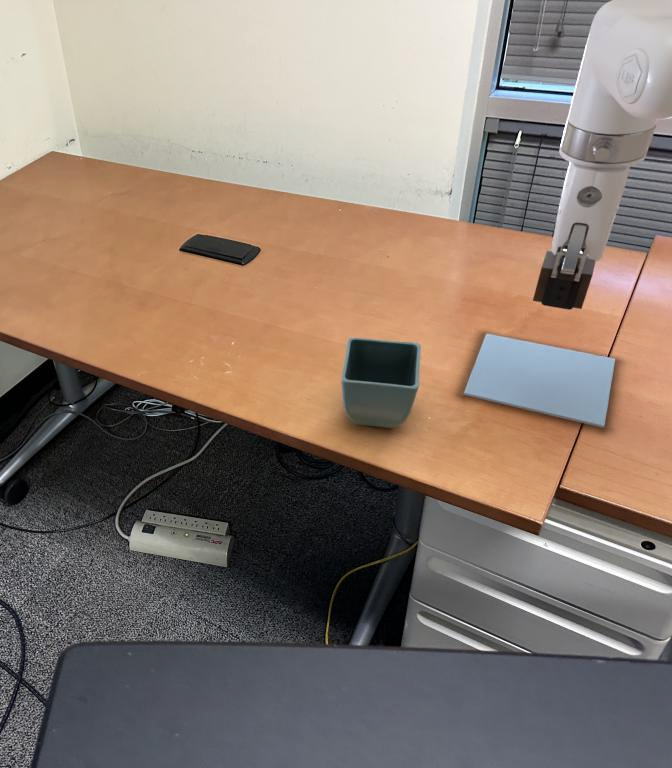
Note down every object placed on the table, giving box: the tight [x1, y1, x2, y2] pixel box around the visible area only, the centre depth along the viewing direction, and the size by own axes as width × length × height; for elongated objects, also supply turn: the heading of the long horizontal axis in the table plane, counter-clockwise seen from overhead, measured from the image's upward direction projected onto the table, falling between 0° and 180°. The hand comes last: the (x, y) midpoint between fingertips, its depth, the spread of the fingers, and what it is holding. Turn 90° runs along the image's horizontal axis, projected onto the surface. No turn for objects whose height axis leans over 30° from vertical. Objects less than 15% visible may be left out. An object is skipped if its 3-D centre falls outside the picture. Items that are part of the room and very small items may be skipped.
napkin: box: [463, 333, 616, 429], centre depth 90 cm, size 16×14×1 cm
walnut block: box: [532, 250, 597, 310], centre depth 78 cm, size 5×4×4 cm
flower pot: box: [340, 337, 422, 429], centre depth 86 cm, size 9×9×9 cm
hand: (560, 293), depth 79 cm, fingers closed on walnut block, 4 cm apart
